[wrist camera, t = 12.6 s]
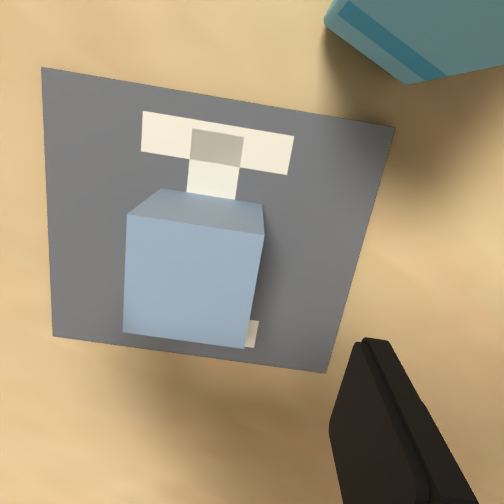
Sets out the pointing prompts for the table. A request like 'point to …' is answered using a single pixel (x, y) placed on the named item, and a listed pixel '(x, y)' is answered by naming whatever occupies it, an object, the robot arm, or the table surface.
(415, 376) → the table surface
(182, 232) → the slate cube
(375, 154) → the letter mat
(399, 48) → the data package
